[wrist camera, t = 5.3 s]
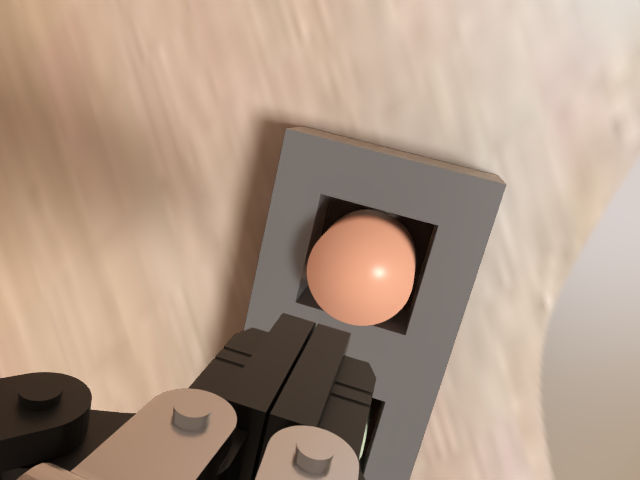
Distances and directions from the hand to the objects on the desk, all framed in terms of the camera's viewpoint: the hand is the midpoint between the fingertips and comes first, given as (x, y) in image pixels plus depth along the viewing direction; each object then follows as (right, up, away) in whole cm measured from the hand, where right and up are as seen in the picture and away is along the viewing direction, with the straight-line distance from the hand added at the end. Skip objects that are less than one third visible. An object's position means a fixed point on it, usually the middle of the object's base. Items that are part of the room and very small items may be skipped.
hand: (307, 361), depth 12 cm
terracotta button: (+2, +2, +9) cm, 9 cm away
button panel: (+1, -4, +12) cm, 13 cm away
